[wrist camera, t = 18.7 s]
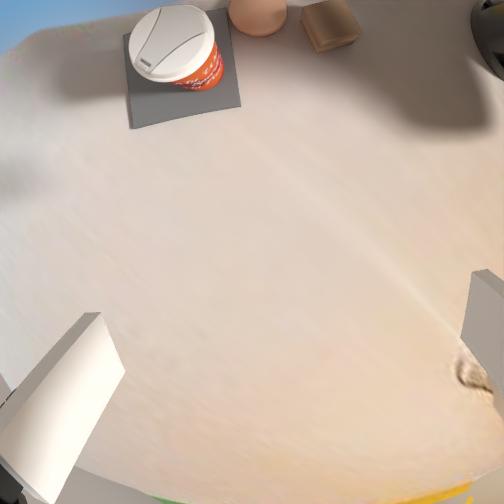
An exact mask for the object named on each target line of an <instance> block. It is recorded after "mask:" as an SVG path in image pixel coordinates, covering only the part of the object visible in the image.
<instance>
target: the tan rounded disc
mask: <svg viewBox="0 0 504 504" xmlns="http://www.w3.org/2000/svg"><path fill="white" fill-rule="evenodd" d="M229 16H230V18H231V20H232V22H233V24H234V25H235V27H236V28H237V29H238V30H239V31H240V32H242V33H244V34H246V35H249V36H254V37H262V36H268V35H271V34H273V33H275V32H277V31H278V30H279V29H280V28H281V27H282V26H283V25H284V23H285V22H286V19H287V6H286V2H285V0H231V2H230V4H229Z"/></svg>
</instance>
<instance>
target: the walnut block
mask: <svg viewBox="0 0 504 504" xmlns="http://www.w3.org/2000/svg"><path fill="white" fill-rule="evenodd" d="M300 22H301V24H302V25H303V27H304V29H305V31H306V33H307V35H308V37H309V39H310V41H311V43H312V45H313V47H314V49H315V51H316V53H320V52H323V51H327V50H331V49H334V48H338V47H342V46H346V45H350V44H353V42H354V41H355V40H356V39H357V38H358V36H359V35H360V34H361V33H362V31H361V29H360V27H359V25H358V23H357V21H356V20H355V18H354V16H353V14H352V12H351V10H350V9H349V7H348V5H347V3H346V2H345V0H328V1H324V2H320V3H315V4H311V5H308V6H304V7H303V11H302V16H301V20H300Z"/></svg>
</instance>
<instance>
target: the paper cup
mask: <svg viewBox="0 0 504 504" xmlns="http://www.w3.org/2000/svg"><path fill="white" fill-rule="evenodd" d="M129 54H130V59H131V62H132V64H133V66H134V68H135V69H136V71H137V72H138V73H139V74H141V75H142V76H143V77H145V78H147V79H149V80H152V81H156V82H167V83H171V84H174V85H178V86H181V87H184V88H187V89H190V90H193V91H206V90H209V89H211V88H213V87H215V86H216V85H217V84H218V83H219V82H220V80H221V79H222V77H223V74H224V64H223V60H222V57H221V55H220V52H219V50H218V47H217V45H216V42H215V40H214V29H213V26H212V23H211V21H210V20H209V18H208V17H207V15H206V13H205V12H204V11H203V10H201V9H200V8H197V7H195V6H192V5H171V6H163V7H159V8H157V9H155V10H152V11H151V12H149V13H148V14H146V15H145V16H144V17H143V18H142V19H141V20H140V21H139V22H138V23H137V25H136V26H135V28H134V29H133V31H132V34H131V36H130V40H129Z"/></svg>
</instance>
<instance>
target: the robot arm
mask: <svg viewBox="0 0 504 504" xmlns="http://www.w3.org/2000/svg"><path fill="white" fill-rule="evenodd" d="M471 26H472V31H473V35H474V38H475V41H476V43H477V46H478V48H479V50H480V52H481V54H482V55H483V57H484V59H485V60H486V62H487V63H488V65H489V66H490V67H491V68H492V70H493V71H494V72H495V73H496V74H497V75H498V76H499V77H500V78H501V79H503V80H504V0H483V1H481V2H479V3H478V4H476V5H475V7H474V8H473V10H472V14H471ZM460 338H461V339H462V341H463V342H464V343H465V344H466V346H467V347H468V348H469V350H470V351H471V352H472V354H473V355H474V356H475V358H476V359H477V360H478V362H479V363H480V364H481V366H482V367H483V368H484V370H485V371H486V373H487V374H488V375H489V376H490V378H491V380H492V381H493V382H494V384H495V385H496V387H497V388H498V390H499V391H500V393H501V394H502V395H503V397H504V281H503V280H501V279H500V278H499V277H498V276H496V275H495V274H494V273H492V272H491V271H490V270H488V269H485V270H480V271H474V272H472V275H471V283H470V289H469V296H468V301H467V307H466V312H465V318H464V323H463V327H462V332H461V336H460ZM124 373H125V370H124V368H123V365H122V363H121V361H120V359H119V356H118V354H117V352H116V349H115V347H114V344H113V342H112V340H111V337H110V335H109V332H108V329H107V327H106V324H105V322H104V319H103V316H102V314H101V312H96V313H84V314H83V316H82V317H81V318H80V319H79V320H78V321H77V322H76V323H75V324H74V325H73V326H72V327H71V328H70V329H69V330H68V331H67V332H66V333H65V335H64V336H63V337H62V338H61V339H60V340H59V341H58V342H57V343H56V344H55V345H54V346H53V348H52V349H51V350H50V351H49V352H48V353H47V354H46V355H45V356H44V358H43V359H42V360H41V361H40V362H39V363H38V364H37V365H36V367H35V368H34V369H33V370H32V371H31V372H30V374H29V375H28V376H27V377H26V378H25V379H24V381H23V382H22V383H21V384H20V385H19V386H18V387H17V388H16V389H15V390H14V391H13V392H12V393H11V394H10V395H9V397H8V398H7V399H6V402H4V403H3V404H2V405H1V407H0V504H27V501H26V498H25V496H24V495H23V494H22V493H21V491H22V489H23V488H25V489H26V490H27V491H28V492H29V493H30V494H31V495H32V496H33V497H35V498H36V499H38V500H40V501H42V502H44V503H47V504H54V503H55V501H56V499H57V497H58V495H59V493H60V491H61V489H62V487H63V485H64V483H65V481H66V479H67V477H68V475H69V473H70V471H71V469H72V467H73V466H74V464H75V462H76V460H77V458H78V456H79V454H80V452H81V450H82V448H83V447H84V445H85V443H86V441H87V439H88V437H89V435H90V433H91V432H92V430H93V428H94V426H95V424H96V422H97V421H98V419H99V417H100V415H101V413H102V412H103V410H104V408H105V406H106V404H107V403H108V401H109V399H110V397H111V396H112V394H113V392H114V390H115V389H116V387H117V385H118V383H119V382H120V380H121V378H122V376H123V375H124Z"/></svg>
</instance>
